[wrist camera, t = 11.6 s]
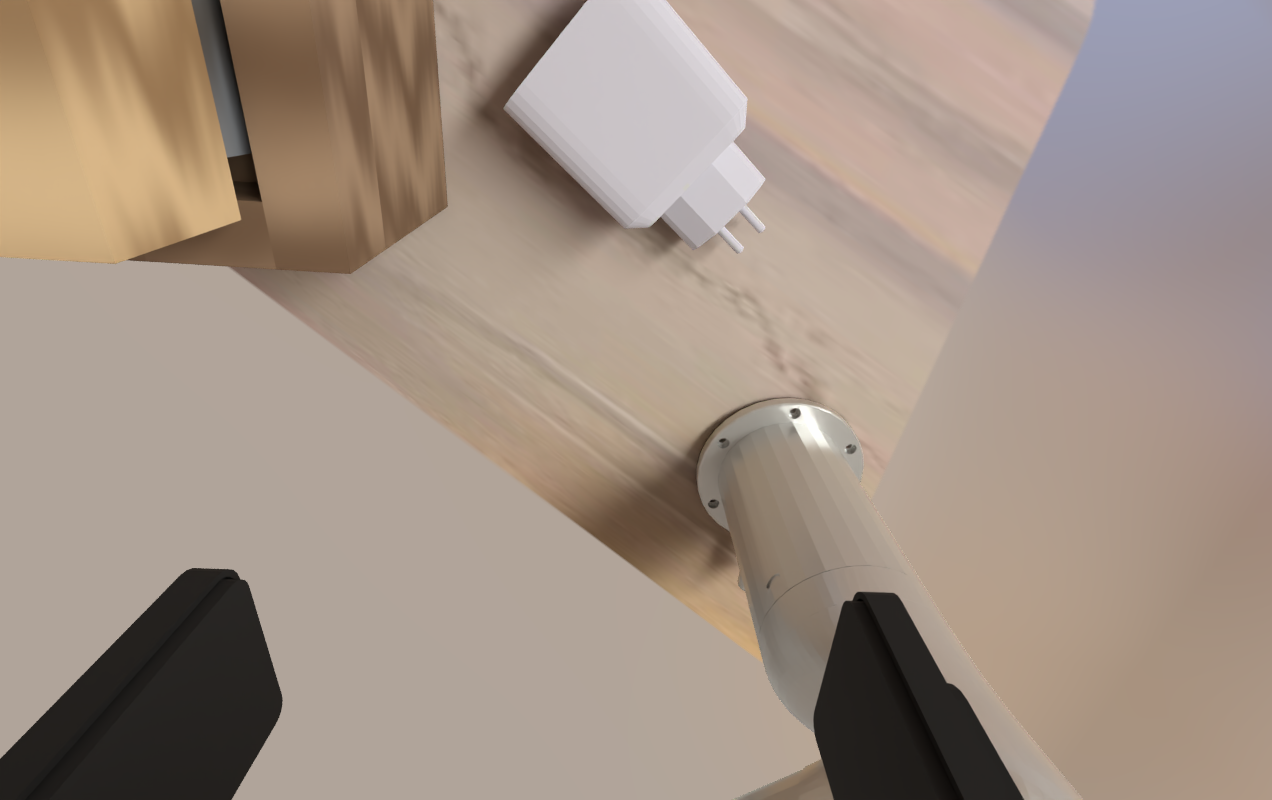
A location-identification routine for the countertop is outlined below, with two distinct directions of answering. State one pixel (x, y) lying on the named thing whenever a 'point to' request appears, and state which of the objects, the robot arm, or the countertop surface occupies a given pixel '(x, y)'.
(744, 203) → the charger
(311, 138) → the wooden crate
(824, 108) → the countertop surface
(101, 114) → the tan rectangular block
